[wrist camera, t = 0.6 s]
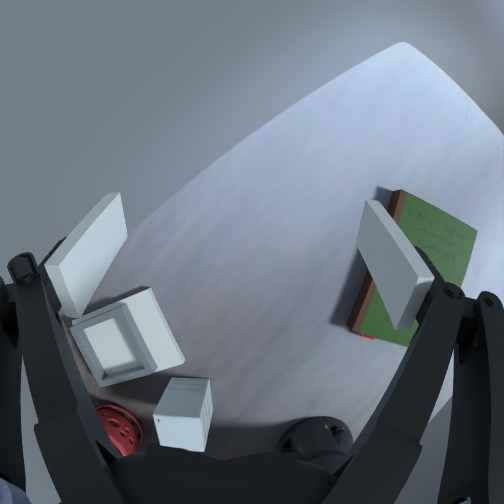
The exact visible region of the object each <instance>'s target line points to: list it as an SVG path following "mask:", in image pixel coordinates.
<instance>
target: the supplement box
mask: <svg viewBox="0 0 504 504" xmlns="http://www.w3.org/2000/svg"><path fill="white" fill-rule="evenodd" d="M212 412H213V408H212V399H211V389H210V380H209V379H200V378H175V377H172V378H171V380H170V381H169V383H168V385H167V387H166V389H165V391H164V393H163V395H162V397H161V399H160V401H159V403H158V405H157V407H156V409H155V411H154V413H153V418H154V422H155V426H156V430H157V434H158V438H159V442H160V445H162V446H169V447H176V448H183V449H186V450H189V451H200V452H204V451H205V446H206V441H207V436H208V431H209V426H210V421H211V417H212Z"/></svg>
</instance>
